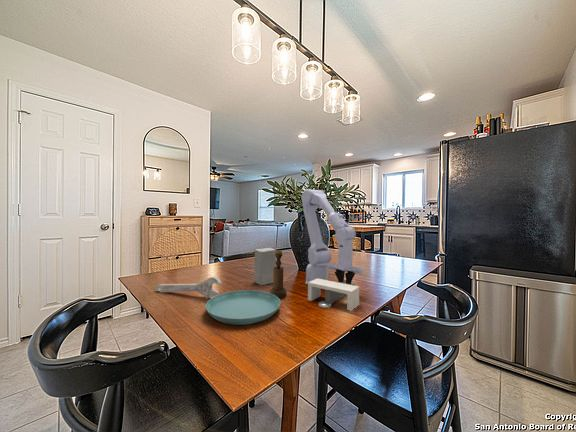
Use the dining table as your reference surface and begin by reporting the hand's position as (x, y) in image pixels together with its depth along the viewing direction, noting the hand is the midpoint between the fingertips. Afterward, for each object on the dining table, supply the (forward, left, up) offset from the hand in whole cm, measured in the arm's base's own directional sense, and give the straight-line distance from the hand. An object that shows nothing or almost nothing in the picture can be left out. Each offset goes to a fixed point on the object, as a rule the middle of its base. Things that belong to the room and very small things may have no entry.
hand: (344, 288), depth 99 cm
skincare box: (-35, -10, -2) cm, 37 cm away
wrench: (-48, -41, -2) cm, 63 cm away
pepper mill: (-19, -20, -2) cm, 28 cm away
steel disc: (0, -18, -2) cm, 18 cm away
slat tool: (0, -5, -2) cm, 6 cm away
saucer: (-19, -38, -2) cm, 43 cm away
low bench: (+1, -13, -2) cm, 13 cm away
